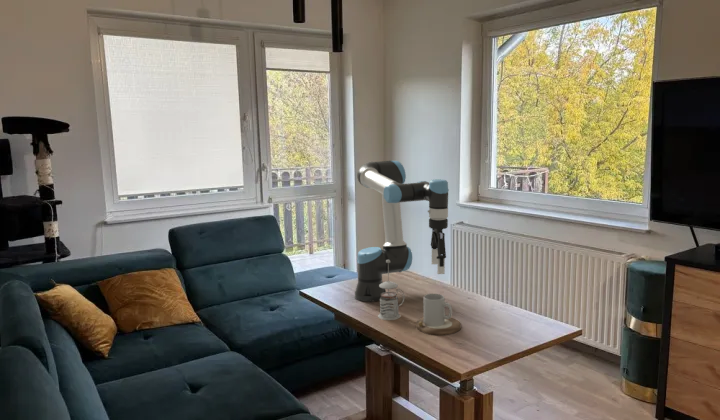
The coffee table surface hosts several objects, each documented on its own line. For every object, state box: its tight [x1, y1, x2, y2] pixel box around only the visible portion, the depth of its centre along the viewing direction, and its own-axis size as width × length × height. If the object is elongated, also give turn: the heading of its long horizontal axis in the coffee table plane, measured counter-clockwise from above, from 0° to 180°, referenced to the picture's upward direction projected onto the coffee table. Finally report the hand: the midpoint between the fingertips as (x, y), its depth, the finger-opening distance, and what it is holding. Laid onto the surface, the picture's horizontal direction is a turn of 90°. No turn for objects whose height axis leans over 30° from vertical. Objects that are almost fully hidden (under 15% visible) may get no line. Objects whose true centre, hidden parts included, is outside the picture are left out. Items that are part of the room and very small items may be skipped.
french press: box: [377, 260, 405, 321], centre depth 223 cm, size 10×12×25 cm
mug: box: [423, 293, 453, 326], centre depth 211 cm, size 12×8×11 cm
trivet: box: [415, 316, 462, 336], centre depth 212 cm, size 18×18×3 cm
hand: (437, 268), depth 214 cm, fingers open, 13 cm apart
